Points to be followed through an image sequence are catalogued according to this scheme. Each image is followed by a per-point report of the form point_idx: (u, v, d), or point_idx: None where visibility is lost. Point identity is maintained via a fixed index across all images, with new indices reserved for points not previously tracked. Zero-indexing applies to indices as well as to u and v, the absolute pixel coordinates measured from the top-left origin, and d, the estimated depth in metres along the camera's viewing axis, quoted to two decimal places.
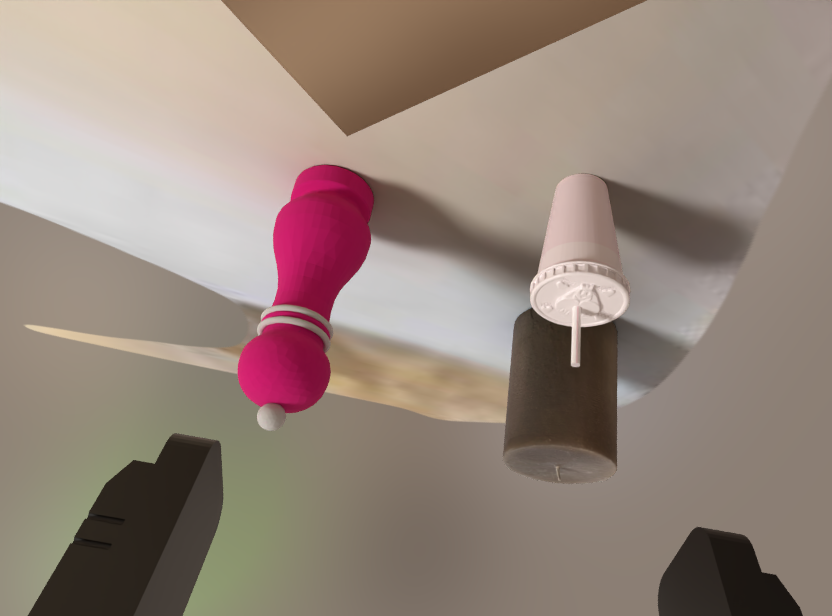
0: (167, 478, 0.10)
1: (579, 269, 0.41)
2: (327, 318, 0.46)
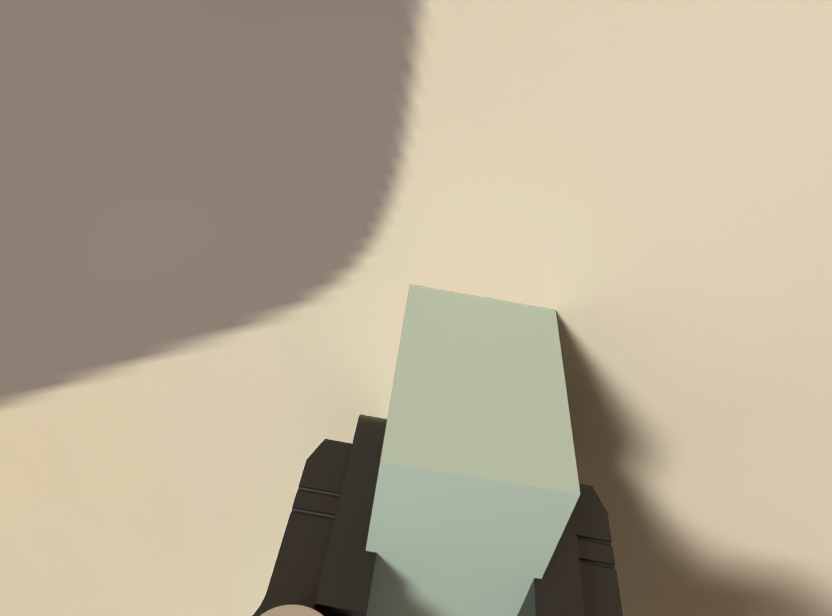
0: (367, 454, 0.11)
1: None
2: None
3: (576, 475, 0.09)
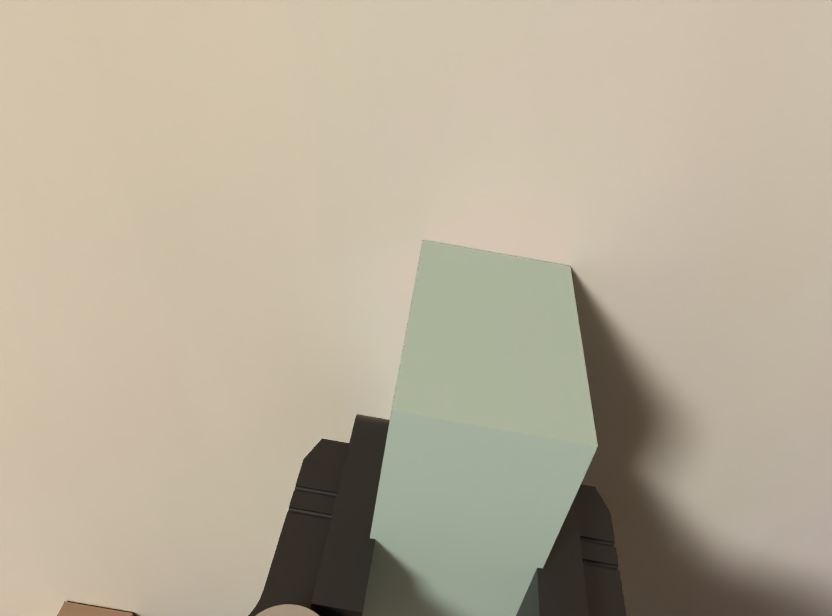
0: (364, 454, 0.11)
1: None
2: None
3: (594, 428, 0.08)
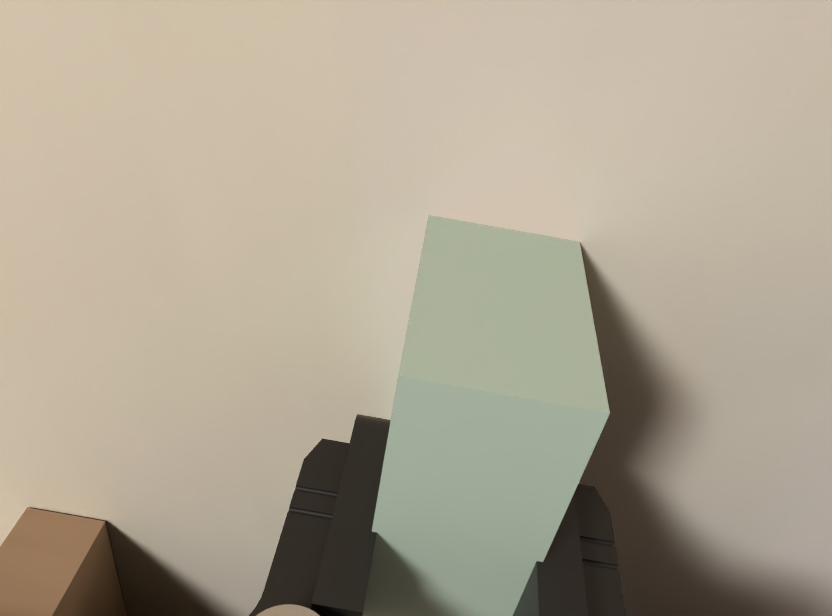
0: (364, 454, 0.11)
1: None
2: None
3: (605, 396, 0.08)
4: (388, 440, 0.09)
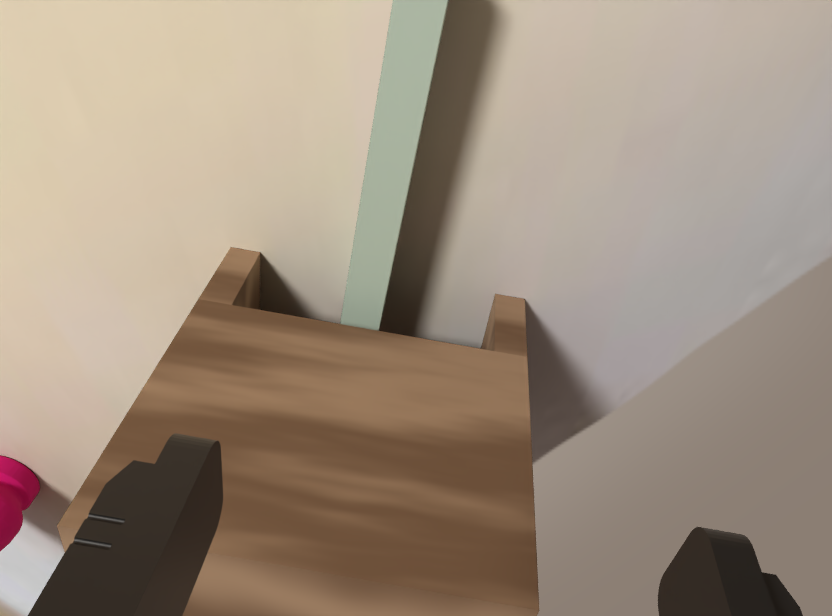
0: (167, 478, 0.10)
1: None
2: None
3: None
4: None
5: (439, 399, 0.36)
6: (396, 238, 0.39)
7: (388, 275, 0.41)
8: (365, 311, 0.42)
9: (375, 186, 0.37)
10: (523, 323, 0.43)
